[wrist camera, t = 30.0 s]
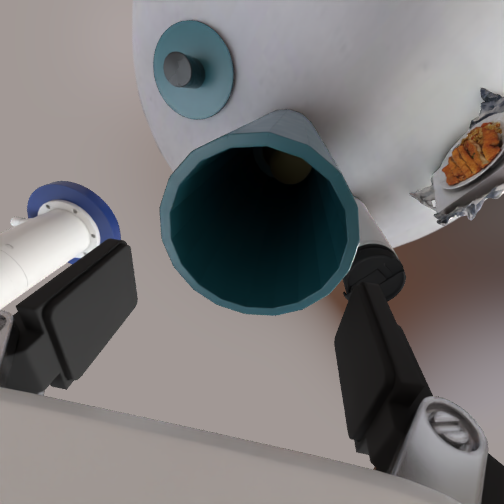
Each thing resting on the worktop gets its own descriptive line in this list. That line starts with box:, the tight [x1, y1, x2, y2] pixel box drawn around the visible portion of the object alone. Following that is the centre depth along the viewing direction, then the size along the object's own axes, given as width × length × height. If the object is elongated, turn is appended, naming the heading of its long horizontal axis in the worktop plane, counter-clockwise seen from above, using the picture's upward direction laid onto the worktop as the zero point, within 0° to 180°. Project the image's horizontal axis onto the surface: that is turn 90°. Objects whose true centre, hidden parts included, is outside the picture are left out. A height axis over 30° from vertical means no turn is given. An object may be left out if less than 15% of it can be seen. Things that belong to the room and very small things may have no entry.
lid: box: [153, 20, 234, 119], centre depth 35 cm, size 11×11×7 cm
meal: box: [410, 88, 504, 226], centre depth 32 cm, size 15×4×13 cm, turn 157°
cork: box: [263, 146, 312, 185], centre depth 36 cm, size 6×6×11 cm
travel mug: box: [343, 197, 406, 301], centre depth 36 cm, size 6×7×20 cm
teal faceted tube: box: [160, 109, 360, 316], centre depth 28 cm, size 10×10×32 cm
